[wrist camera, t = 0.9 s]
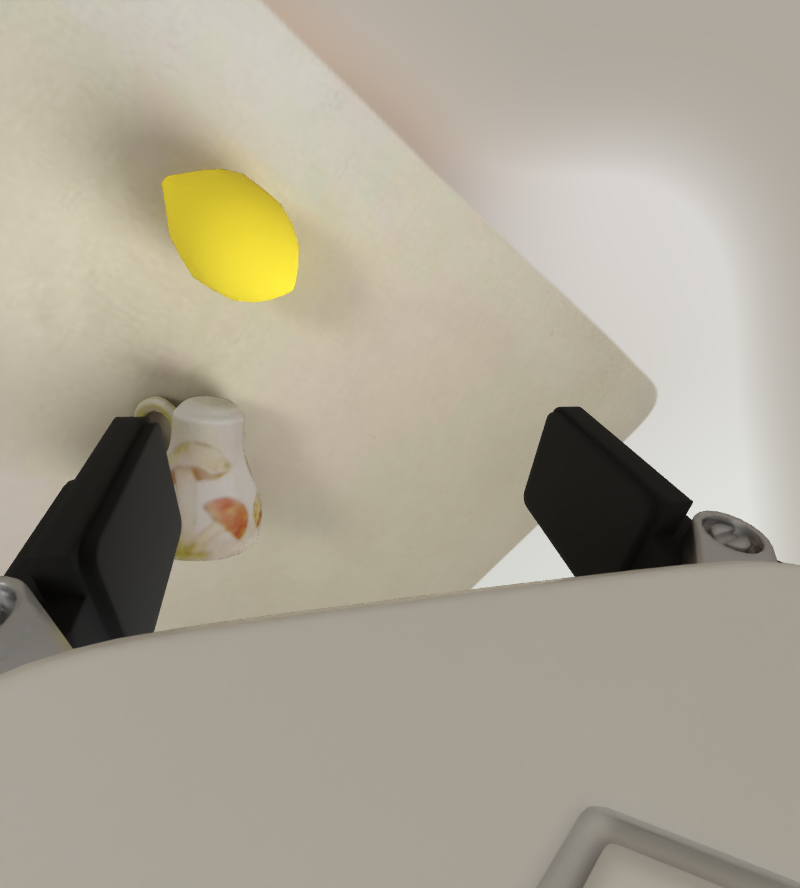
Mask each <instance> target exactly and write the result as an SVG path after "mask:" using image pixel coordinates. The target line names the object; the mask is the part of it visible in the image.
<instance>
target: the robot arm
mask: <svg viewBox="0 0 800 888" xmlns="http://www.w3.org/2000/svg"><path fill="white" fill-rule="evenodd" d="M524 502H525V505H526V507H527V508H528V510H529V511H530V513H531V514H532V515H533V517H534V518H535V520H536V521H537V523H538V524H539V526H540V527H541V528H542V530H543V531H544V533H545V534H546V536H547V537H548V538H549V540H550V541H551V543H552V544H553V546H554V547H555V549H556V550H557V551H558V553H559V554H560V556H561V557H562V559H563V560H564V561H565V563H566V564H567V566H568V567H569V569H570V570H571V572H572V573H573V574H574V576H575V577H571V578H562V579H554V580H545V581H537V582H529V583H520V584H513V585H504V586H496V587H488V588H480V589H471V590H463V591H455V592H447V593H439V594H431V595H423V596H415V597H407V598H399V599H392V600H384V601H376V602H368V603H361V604H353V605H345V606H337V607H330V608H322V609H314V610H307V611H299V612H291V613H283V614H276V615H268V616H261V617H253V618H246V619H239V620H232V621H224V622H217V623H210V624H203V625H196V626H190V627H183V628H177V629H171V630H165V631H159V632H154V630H155V626H156V622H157V619H158V615H159V611H160V608H161V604H162V601H163V597H164V593H165V590H166V586H167V582H168V579H169V575H170V571H171V568H172V564H173V561H174V557H175V553H176V550H177V546H178V542H179V539H180V535H181V529H182V520H181V514H180V510H179V506H178V501H177V497H176V492H175V488H174V484H173V479H172V475H171V471H170V466H169V462H168V457H167V453H166V449H165V444H164V440H163V435H162V431H161V427H160V425H159V424H158V423H151V422H150V420H149V418H148V417H147V416H141V417H116V418H115V419H114V420H113V421H112V423H111V425H110V426H109V428H108V429H107V431H106V432H105V434H104V435H103V437H102V438H101V440H100V441H99V443H98V444H97V446H96V448H95V449H94V451H93V452H92V454H91V455H90V457H89V458H88V460H87V461H86V463H85V464H84V466H83V467H82V469H81V471H80V472H79V474H78V475H77V477H76V478H75V480H71V481H68V482H67V484H66V485H65V486H64V487H63V488H62V490H61V491H60V493H59V494H58V496H57V497H56V499H55V500H54V502H53V503H52V505H51V506H50V508H49V509H48V511H47V512H46V514H45V515H44V517H43V518H42V520H41V521H40V523H39V524H38V526H37V527H36V529H35V530H34V532H33V533H32V535H31V536H30V537H29V539H28V540H27V542H26V543H25V545H24V546H23V548H22V549H21V551H20V552H19V554H18V555H17V557H16V558H15V560H14V561H13V563H12V564H11V566H10V567H9V569H8V570H7V572H6V573H5V575H4V576H0V888H800V565H795V564H789V563H782V562H780V561H777V559H776V556H775V552H774V549H773V547H772V545H771V543H770V541H769V540H768V539H767V538H766V537H765V536H764V535H763V534H762V533H761V532H760V531H759V530H757V529H756V528H754V527H753V526H752V525H750V524H748V523H746V522H744V521H743V520H741V519H739V518H736V517H733V516H731V515H728V514H725V513H721V512H716V511H703V512H699V513H697V514H696V515H695V516H694V518H693V519H692V520H691V519H690V518H689V517H688V516H687V515H686V514H687V512H688V510H689V508H690V507H691V505H692V503H693V501H692V500H690V499H689V498H688V497H687V496H686V495H684V494H683V493H682V492H681V491H680V490H678V489H677V488H676V487H675V486H674V485H673V484H671V483H670V482H669V481H668V480H667V479H665V478H664V477H663V476H662V475H660V474H659V473H658V472H657V471H656V470H655V469H653V468H652V467H651V466H650V465H649V464H647V463H646V462H645V461H644V460H643V459H642V458H641V457H639V456H638V455H637V454H636V453H635V452H633V451H632V450H631V449H630V448H629V447H627V446H626V445H625V444H624V443H623V442H622V441H620V440H619V439H618V438H617V437H616V436H614V435H613V434H612V433H611V432H610V431H608V430H607V429H606V428H605V427H604V426H603V425H601V424H600V423H599V422H598V421H597V420H595V419H594V418H593V417H592V416H591V415H589V414H588V413H587V412H586V411H585V410H583V409H582V408H581V407H558V408H556V409H555V410H554V411H553V413H550V414H549V415H548V417H547V419H546V422H545V426H544V429H543V432H542V436H541V439H540V442H539V445H538V449H537V452H536V455H535V459H534V462H533V465H532V468H531V472H530V475H529V478H528V482H527V485H526V488H525V491H524Z"/></svg>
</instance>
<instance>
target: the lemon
mask: <svg viewBox="0 0 800 888" xmlns="http://www.w3.org/2000/svg"><path fill="white" fill-rule="evenodd" d="M162 189H163V195H164V201H165V207H166V213H167V221H168V228H169V235H170V237H171V239H172V241H173V243H174V245H175V247H176V249H177V251H178V253H179V255H180V257H181V259H182V260H183V262H184V263H185V265H186V267H187V268H188V270H189V271H190V273H191V275H192V276H193V278H195V279H197V280H198V281H200V282H201V283H203V284H204V285H206V286H207V287H209V288H210V289H212V290H214V291H216V292H218V293H220V294H221V295H223V296H225V297H227V298H229V299H231V300H236V301H246V302H260V301H267V300H272V299H274V298H277V297H280V296H283V295H285V294H287V293H289V292H291V291H292V290H293V289H294V286H295V283H296V277H297V271H298V255H299V244H298V241H297V238H296V235H295V232H294V229H293V226H292V223H291V221H290V219H289V218H288V216H287V214H286V213H285V211H284V209H283V207H282V206H281V204H280V203H279V202H278V201H276V200H275V199H274V198H273V197H272V196H271V195H270V194H268V193H267V192H266V191H265V190H264V189H263V188H261V187H260V186H259V185H257V184H256V183H255V182H253V181H252V180H251V179H249V178H248V177H247V176H245V175H244V174H241V173H237V172H233V171H228V170H224V169H213V170H199V171H193V172H188V173H182V174H176V175H171V176H167V177H166V178H165V179H164V180H163V182H162Z"/></svg>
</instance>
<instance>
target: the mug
mask: <svg viewBox="0 0 800 888" xmlns="http://www.w3.org/2000/svg"><path fill="white" fill-rule="evenodd" d="M153 411H157V412H159V413H162V414H163V415H164V416H165V417H166V419H167V420H168V422H169V424H170V427H171V439H170V444H169V448H168V451H167V457H168V462H169V466H170V471H171V475H172V479H173V484H174V488H175V492H176V497H177V501H178V506H179V510H180V514H181V520H182V529H181V535H180V539H179V542H178V546H177V550H176V553H175V557H174V559H177V560H183V561H210V560H220V559H225V558H229V557H232V556H235V555H237V554H239V553H241V552H243V551H244V550H245V549H246V548H248V547H249V546H251V545H252V544H253V542H254V541H255V540H256V539H257V537H258V535H259V531H260V525H261V518H262V509H261V501H260V497H259V493H258V490H257V487H256V484H255V482H254V479H253V476H252V474H251V471H250V468H249V465H248V462H247V459H246V456H245V452H244V444H243V436H244V415H243V413H242V412H241V411H240V410H239V408H238V407H237V406H236V405H235V404H234V403H233V402H231V401H229V400H226V399H223V398H218V397H213V396H198V397H192V398H189V399H186V400H185V401H183V402H182V403H181V404H180V405H179V406H178V407H177V408H176V407H175V406H174V405H173V404H172V403H171V402H169V401H168V400H167V399H165V398H163V397H159V396H152V397H149V398H147V399H145V400H144V401H142V402H141V403H139V404H138V406H137V407H136V409H135V412H134V416H133V417H141V416H147V415H148V414H149V413H150V412H153Z"/></svg>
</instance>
